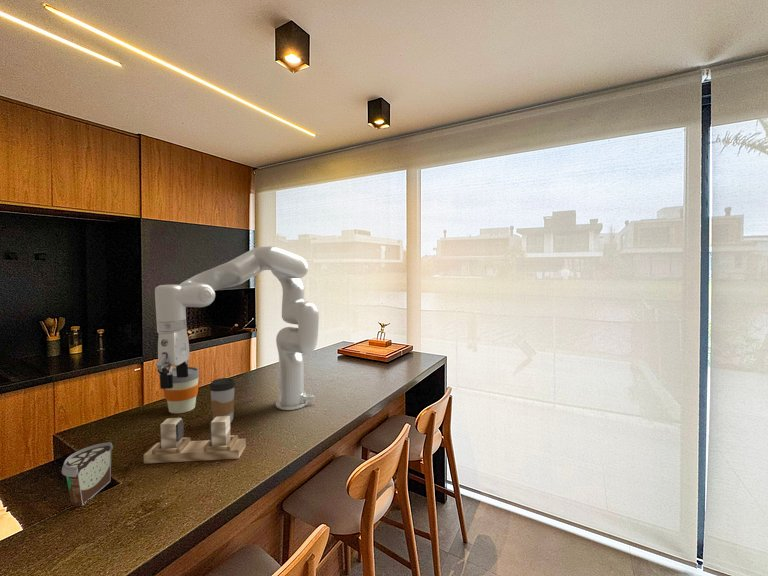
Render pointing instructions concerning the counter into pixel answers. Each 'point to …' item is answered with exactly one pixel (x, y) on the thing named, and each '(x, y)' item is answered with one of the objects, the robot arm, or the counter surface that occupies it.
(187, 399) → the reusable coffee cup
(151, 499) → the counter surface
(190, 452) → the rail
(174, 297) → the robot arm
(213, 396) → the coffee cup
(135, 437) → the counter surface
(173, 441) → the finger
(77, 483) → the food container
